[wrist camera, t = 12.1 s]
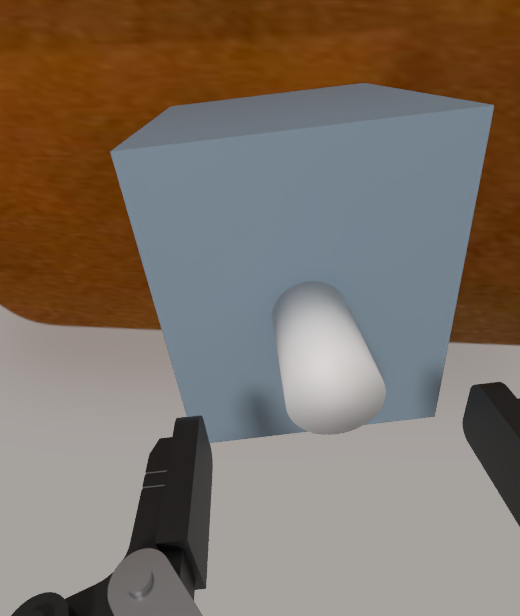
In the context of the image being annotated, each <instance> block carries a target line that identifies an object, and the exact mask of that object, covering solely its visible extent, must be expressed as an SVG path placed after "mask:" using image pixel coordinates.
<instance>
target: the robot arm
mask: <svg viewBox="0 0 520 616" xmlns="http://www.w3.org/2000/svg"><path fill="white" fill-rule="evenodd" d="M463 430H464V434H465V437H466V439H467V441H468V443H469V444H470V446H471V448H472V449H473V451H474V453H475V454H476V456H477V458H478V459H479V461H480V462H481V464H482V466H483V467H484V469H485V471H486V472H487V474H488V476H489V477H490V479H491V480H492V482H493V484H494V485H495V487H496V488H497V490H498V492H499V493H500V495H501V497H502V498H503V500H504V502H505V503H506V505H507V507H508V508H509V510H510V511H511V513H512V515H513V516H514V518H515V520H516V521H517V523H518V525H519V526H520V399H517V398H516V397H515V396H514V395H513V393H512V392H511V391H510V390H509V388H508V387H507V386H506V385H505V384H503V383H501V382H495V383H487V384H478V385H473V386H472V387H471V389H470V393H469V397H468V401H467V405H466V409H465V413H464V417H463ZM211 487H212V453H211V447H210V443H209V439H208V435H207V431H206V427H205V424H204V420H203V417H202V415H199V416H191V417H182V418H177V419H176V421H175V426H174V432H173V437H170V438H161V439H159V441H158V442H157V444H156V445H155V447H154V448H153V450H152V451H151V453H150V455H149V459H148V464H147V468H146V475H145V477H144V482H143V490H142V491H141V496H140V500H139V505H138V510H137V514H136V519H135V523H134V528H133V533H132V537H131V542H130V546H129V549H128V552H127V554H126V556H125V558H124V559H123V560H122V561H121V563H120V564H119V565H118V566H117V568H116V569H115V571H114V572H113V573H112V574H111V575H110V576H108V577H107V578H106V579H104V580H103V581H101V582H99V583H97V584H96V585H94V586H91V587H89V588H87V589H85V590H83V591H81V592H79V593H77V594H74V595H72V596H70V597H68V598H66V599H64V598H63V597H61V596H60V595H59V594H56V593H52V592H48V593H42V594H39V595H36V596H34V597H32V598H31V599H29V600H27V601H26V602H25V603H24V604H22V605H21V606H20V607H19V608H18V609H17V610H16V611H15V612H14V613H13V614H12V615H11V616H202V614H201V612H200V611H199V609H198V607H197V606H196V604H195V603H194V591H195V590H197V589H205V588H206V578H207V560H208V559H207V558H208V541H209V523H210V505H211Z"/></svg>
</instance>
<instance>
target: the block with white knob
mask: <svg viewBox="0 0 520 616" xmlns="http://www.w3.org/2000/svg"><path fill="white" fill-rule="evenodd" d="M493 109H494V105H490V104H484V103H478V102H473V101H467V100H461V99H455V98H449V97H443V96H437V95H432V94H426V93H420V92H414V91H408V90H402V89H397V88H391V87H385V86H379V85H373V84H367V83H360V84H352V85H343V86H335V87H327V88H319V89H310V90H302V91H294V92H286V93H278V94H269V95H261V96H253V97H245V98H236V99H228V100H220V101H212V102H203V103H195V104H187V105H179V106H171V107H169V108H168V109H167V110H165V111H164V112H163V113H161V114H160V115H159V116H157V117H156V118H155V119H153V120H152V121H151V122H149V123H148V124H147V125H145V126H144V127H143V128H141V129H140V130H139V131H137V132H136V133H135V134H133V135H132V136H131V137H129V138H128V139H127V140H125V141H124V142H123V143H121V144H120V145H119V146H117V147H116V148H114V149H113V150H112V151H110V153H111V156H112V160H113V163H114V167H115V170H116V173H117V177H118V180H119V184H120V187H121V191H122V194H123V198H124V201H125V205H126V208H127V211H128V215H129V218H130V222H131V225H132V229H133V232H134V236H135V239H136V242H137V246H138V249H139V253H140V256H141V260H142V263H143V267H144V270H145V274H146V277H147V280H148V284H149V287H150V291H151V294H152V298H153V301H154V305H155V308H156V312H157V315H158V318H159V322H160V325H161V329H162V332H163V336H164V339H165V343H166V346H167V349H168V353H169V356H170V360H171V363H172V367H173V370H174V374H175V377H176V380H177V384H178V387H179V391H180V394H181V398H182V401H183V404H184V408H185V412H186V415H187V417H191V416H199V415H202V417H203V420H204V424H205V427H206V431H207V435H208V439H209V443H213V442H222V441H231V440H239V439H248V438H256V437H265V436H273V435H282V434H290V433H299V432H307V431H309V432H312V433H316V434H329V435H330V434H339V433H344V432H348V431H351V430H354V429H356V428H358V427H360V426H362V425H367V424H376V423H384V422H393V421H401V420H410V419H418V418H426V417H434V416H435V412H436V407H437V401H438V396H439V391H440V385H441V380H442V375H443V370H444V364H445V359H446V354H447V349H448V344H449V339H450V333H451V328H452V323H453V318H454V313H455V307H456V302H457V297H458V292H459V287H460V281H461V276H462V271H463V266H464V260H465V255H466V250H467V245H468V240H469V234H470V229H471V224H472V219H473V213H474V208H475V203H476V198H477V193H478V187H479V182H480V177H481V172H482V167H483V161H484V156H485V151H486V146H487V140H488V135H489V130H490V125H491V120H492V114H493Z"/></svg>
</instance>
